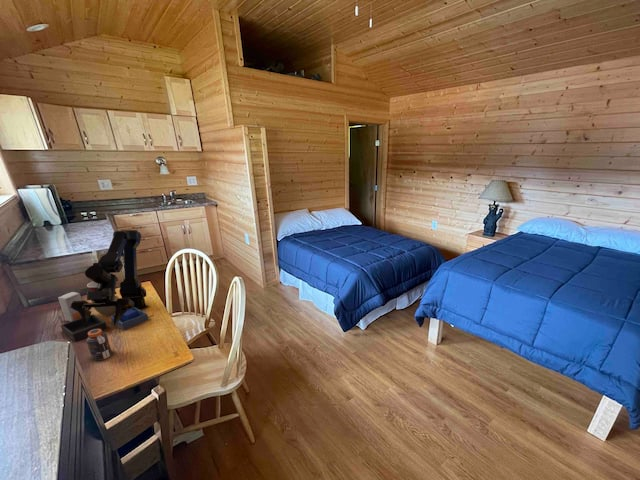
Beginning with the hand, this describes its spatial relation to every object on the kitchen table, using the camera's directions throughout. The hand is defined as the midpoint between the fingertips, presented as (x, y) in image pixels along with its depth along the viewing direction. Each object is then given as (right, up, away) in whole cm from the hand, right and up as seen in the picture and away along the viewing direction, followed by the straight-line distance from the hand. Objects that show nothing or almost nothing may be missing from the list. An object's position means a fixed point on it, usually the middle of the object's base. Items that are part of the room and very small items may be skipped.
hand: (100, 325), depth 115 cm
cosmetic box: (-30, -1, +22) cm, 37 cm away
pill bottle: (0, -12, +1) cm, 12 cm away
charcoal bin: (-19, -5, +14) cm, 24 cm away
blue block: (-6, -2, +22) cm, 23 cm away
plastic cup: (-27, +5, +35) cm, 45 cm away
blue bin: (-6, -2, +22) cm, 23 cm away
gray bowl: (-20, +1, +27) cm, 34 cm away
